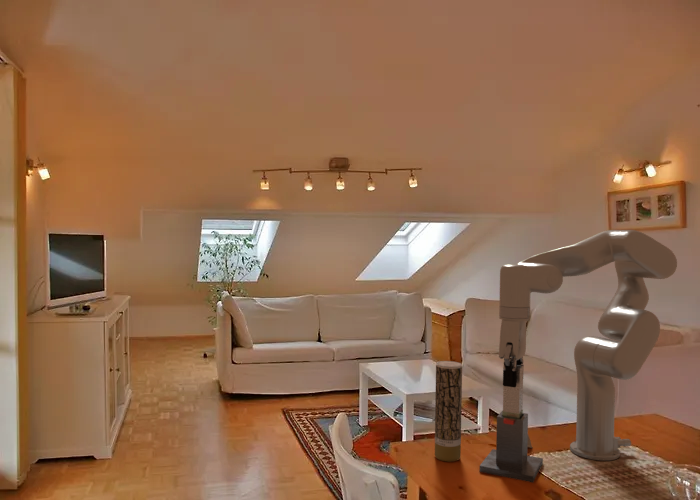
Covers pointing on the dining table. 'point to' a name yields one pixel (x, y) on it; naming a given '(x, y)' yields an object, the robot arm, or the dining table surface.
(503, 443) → the stand
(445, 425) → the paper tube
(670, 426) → the dining table surface
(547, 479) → the dining table surface
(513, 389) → the column
